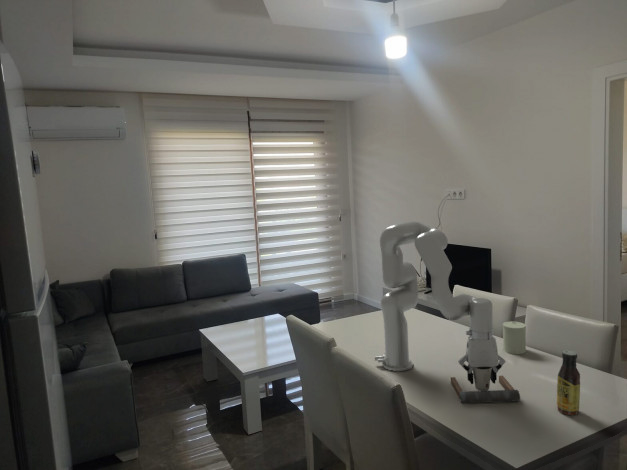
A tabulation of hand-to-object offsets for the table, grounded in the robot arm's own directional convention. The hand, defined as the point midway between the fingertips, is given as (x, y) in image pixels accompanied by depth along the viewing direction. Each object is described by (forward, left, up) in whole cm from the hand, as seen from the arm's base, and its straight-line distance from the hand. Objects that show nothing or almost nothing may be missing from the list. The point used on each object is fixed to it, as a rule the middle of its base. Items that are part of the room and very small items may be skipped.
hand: (482, 381), depth 156 cm
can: (+25, +37, -4) cm, 45 cm away
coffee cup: (0, 0, -2) cm, 2 cm away
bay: (0, -1, -4) cm, 4 cm away
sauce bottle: (+22, -15, -4) cm, 27 cm away
